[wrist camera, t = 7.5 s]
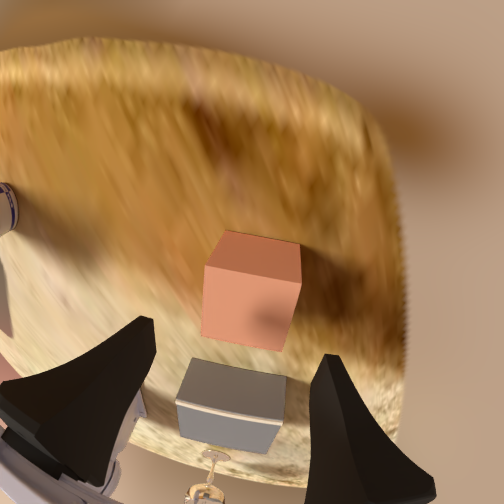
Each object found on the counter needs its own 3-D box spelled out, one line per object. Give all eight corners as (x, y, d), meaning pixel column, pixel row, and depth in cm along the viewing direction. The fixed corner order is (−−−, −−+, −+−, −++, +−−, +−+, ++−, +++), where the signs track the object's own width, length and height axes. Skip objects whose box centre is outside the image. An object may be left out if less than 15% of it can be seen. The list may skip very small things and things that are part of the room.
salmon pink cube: (284, 304, 21) (281, 352, 16) (218, 291, 21) (200, 335, 17) (299, 244, 19) (301, 283, 14) (225, 230, 19) (205, 265, 14)
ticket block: (270, 417, 28) (265, 455, 23) (192, 401, 28) (179, 438, 24) (286, 376, 24) (283, 422, 20) (192, 357, 25) (175, 400, 20)
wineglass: (235, 464, 36) (222, 524, 25) (201, 458, 37) (184, 517, 26) (232, 451, 34) (217, 520, 23) (195, 445, 34) (175, 510, 24)
